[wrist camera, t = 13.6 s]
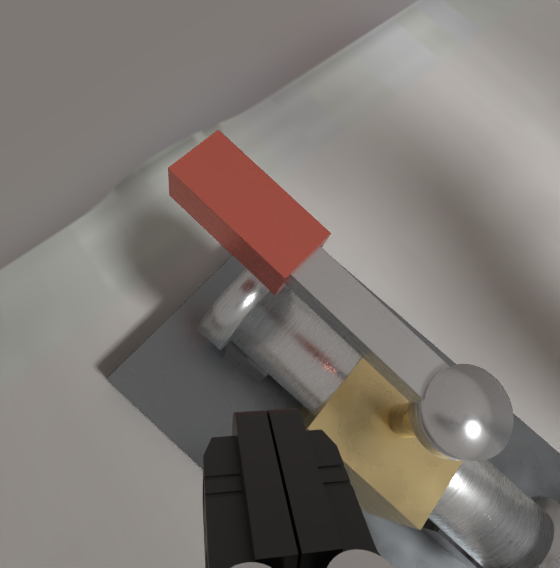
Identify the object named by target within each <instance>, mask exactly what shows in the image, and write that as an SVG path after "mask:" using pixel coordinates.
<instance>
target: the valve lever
mask: <svg viewBox="0 0 560 568" xmlns="http://www.w3.org/2000/svg"><path fill="white" fill-rule="evenodd" d="M168 176H169V194H170V196H171V197H172V198H173V199H174V200H175V201H176V202H177V203H178V204H179V205H180V206H181V207H182V208H183V209H185V210H186V211H187V212H188V213H189V214H190V215H191V216H192V217H193V218H194V219H195V220H196V221H197V222H198V223H199V224H200V225H201V226H202V227H203V228H204V229H206V230H207V231H208V232H209V233H210V234H211V235H212V236H213V237H214V238H215V239H216V240H217V241H218V242H219V243H220V244H221V245H222V246H223V247H224V248H225V249H227V250H228V251H229V252H230V253H231V254H232V255H233V256H234V257H235V258H236V259H237V260H238V261H239V262H240V263H241V264H242V265H243V266H244V267H245V268H246V269H248V270H249V271H250V272H251V273H252V274H253V275H254V276H255V277H256V278H257V279H258V280H259V281H260V282H261V283H262V284H263V285H264V286H265V287H266V288H267V289H269V290H270V291H271V292H272V293H273V294H274V295H276V294H277V293H278V292H279V291H280V290H281V289H282V288H283V287H284V286H285V285H286V286H288V287H289V288H290V289H291V290H292V291H293V292H294V293H295V294H296V295H297V296H298V297H299V298H300V299H301V300H302V301H303V302H304V303H305V304H307V305H308V306H309V307H310V308H311V309H312V310H313V311H314V312H315V313H316V314H317V315H318V316H319V317H320V318H321V319H322V320H323V321H325V322H326V323H327V324H328V325H329V326H330V327H331V328H332V329H333V330H334V331H335V332H336V333H337V334H338V335H339V336H340V337H341V338H342V339H344V340H345V341H346V342H347V343H348V344H349V345H350V346H351V347H352V348H353V349H354V350H355V351H356V352H357V353H358V354H359V355H360V356H361V357H363V358H364V359H365V360H366V361H367V362H368V363H369V364H370V365H371V366H372V367H373V368H374V369H375V370H376V371H377V372H378V373H379V374H381V375H382V376H383V377H384V378H385V379H386V380H387V381H388V382H389V383H390V384H391V385H392V386H393V387H394V388H395V389H396V390H397V391H398V392H400V393H401V394H402V395H403V396H404V397H405V398H406V399H407V400H408V401H409V406H408V413H409V420H410V424H411V427H412V430H413V432H414V434H415V436H416V437H417V439H418V440H419V442H420V443H421V444H422V445H423V446H424V447H425V448H426V449H427V450H428V451H429V452H431V453H432V454H434V455H435V456H438V457H440V458H443V459H446V460H458V461H483V460H487V459H490V458H492V457H494V456H496V455H497V454H499V453H500V452H501V451H502V450H503V449H504V448H505V446H506V445H507V443H508V441H509V439H510V437H511V434H512V430H513V410H512V406H511V402H510V399H509V397H508V395H507V393H506V391H505V389H504V388H503V386H502V385H501V384H500V382H499V381H498V380H497V379H496V378H495V377H494V376H493V375H491V374H490V373H489V372H487V371H486V370H484V369H482V368H480V367H477V366H474V365H469V364H457V365H453V366H449V365H448V364H447V363H445V362H444V361H443V360H442V359H441V358H440V357H439V356H438V355H437V354H436V353H435V352H434V351H433V350H431V349H430V348H429V347H428V346H427V345H426V344H425V343H424V342H423V341H422V340H421V339H420V338H418V337H417V336H416V335H415V334H414V333H413V332H412V331H411V330H410V329H409V328H408V327H407V326H406V325H404V324H403V323H402V322H401V321H400V320H399V319H398V318H397V317H396V316H395V315H394V314H393V313H392V312H390V311H389V310H388V309H387V308H386V307H385V306H384V305H383V304H382V303H381V302H380V301H379V300H378V299H376V298H375V297H374V296H373V295H372V294H371V293H370V292H369V291H368V290H367V289H366V288H365V287H363V286H362V285H361V284H360V283H359V282H358V281H357V280H356V279H355V278H354V277H353V276H352V275H351V274H349V273H348V272H347V271H346V270H345V269H344V268H343V267H342V266H341V265H340V264H339V263H338V262H337V261H335V260H334V259H333V258H332V257H331V256H330V255H329V254H328V253H327V252H326V251H325V250H324V249H323V248H322V246H323V245H324V243H325V242H326V240H327V239H328V237H329V236H330V234H331V233H330V232H329V231H328V230H327V229H326V228H325V227H323V226H322V225H321V224H320V223H319V222H318V221H317V220H316V219H315V218H314V217H313V216H312V215H310V214H309V213H308V212H307V211H306V210H305V209H304V208H303V207H302V206H301V205H300V204H298V203H297V202H296V201H295V200H294V199H293V198H292V197H291V196H290V195H289V194H288V193H287V192H285V191H284V190H283V189H282V188H281V187H280V186H279V185H278V184H277V183H276V182H275V181H274V180H272V179H271V178H270V177H269V176H268V175H267V174H266V173H265V172H264V171H263V170H262V169H260V168H259V167H258V166H257V165H256V164H255V163H254V162H253V161H252V160H251V159H250V158H249V157H247V156H246V155H245V154H244V153H243V152H242V151H241V150H240V149H239V148H238V147H237V146H236V145H234V144H233V143H232V142H231V141H230V140H229V139H228V138H227V137H226V136H225V135H224V134H222V133H221V132H220V131H219V130H217V131H216V132H215V133H214V134H212V135H211V136H210V137H208V138H207V139H206V140H204V141H203V142H202V143H200V144H199V145H198V146H196V147H195V148H194V149H192V150H191V151H190V152H188V153H187V154H186V155H184V156H183V157H182V158H181V159H179V160H178V161H177V162H175V163H174V164H173V165H171V166H170V167H169V168H168Z"/></svg>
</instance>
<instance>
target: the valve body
mask: <svg viewBox="0 0 560 568" xmlns="http://www.w3.org/2000/svg"><path fill="white" fill-rule="evenodd" d="M334 260H335V259H334ZM335 261H336V260H335ZM342 267H343V266H342ZM343 268H344V267H343ZM344 269H345V268H344ZM345 270H346V269H345ZM346 271H347V270H346ZM347 272H348V271H347ZM348 273H349V274H351V273H350V272H348ZM351 275H352V274H351ZM352 276H353V275H352ZM353 277H354V276H353ZM354 278H355V277H354ZM355 279H356V280H357V281H358V282H359V283H360V284H361V285H362V286H363V287H365V288H366V289H367V290H368V291H369V292H370V293H371V294H372V295H373V296H374V297H375V298H376V299H378V300H379V301H380V302H381V303H382V304H383V305H384V306H385V307H386V308H387V309H388V310H389V311H390V312H392V313H393V314H394V315H395V316H396V317H397V318H398V319H399V320H400V321H401V322H402V323H403V324H404V325H406V326H407V327H408V328H409V329H410V330H411V331H412V332H413V333H414V334H415V335H416V336H417V337H418V338H420V339H421V340H422V341H423V342H424V343H425V344H426V345H427V346H428V347H429V348H430V349H431V350H433V351H434V352H435V353H436V354H437V355H438V356H439V357H440V358H441V359H442V360H443V361H444V362H445V363H447V364H448V365H449V366H453V365H456V364H455V363H454V362H453V361H452V360H451V359H449V358H448V357H447V356H446V355H445V354H444V353H442V352H441V351H440V350H439V349H438V348H437V347H435V346H434V345H433V344H432V343H431V342H430V341H429V340H427V339H426V338H425V337H424V336H423V335H422V334H420V333H419V332H418V331H417V330H416V329H415V328H413V327H412V326H411V325H410V324H409V323H408V322H406V321H405V320H404V319H403V318H402V317H401V316H400V315H398V314H397V313H396V312H395V311H394V310H393V309H391V308H390V307H389V306H388V305H387V304H386V303H384V302H383V301H382V300H381V299H380V298H379V297H377V296H376V295H375V294H374V293H373V292H372V291H370V290H369V289H368V288H367V287H366V286H365V285H364V284H362V283H361V282H360V281H359V280H358V279H357V278H355ZM107 380H108V381H109V382H110V383H111V384H112V385H113V386H114V387H116V388H117V389H118V390H119V391H120V392H121V393H122V394H123V395H124V396H125V397H126V398H127V399H128V400H129V401H131V402H132V403H133V404H134V405H135V406H136V407H137V408H138V409H139V410H140V411H141V412H142V413H143V414H144V415H146V416H147V417H148V418H149V419H150V420H151V421H152V422H153V423H154V424H155V425H156V426H157V427H158V428H159V429H161V430H162V431H163V432H164V433H165V434H166V435H167V436H168V437H169V438H170V439H171V440H172V441H173V442H174V443H175V444H177V445H178V446H179V447H180V448H181V449H182V450H183V451H184V452H185V453H186V454H187V455H188V456H189V457H190V458H192V459H193V460H194V461H195V462H196V463H197V464H198V465H199V466H200V467H201V468H202V469H203V455H204V453H205V451H206V449H207V447H208V444H209V442H210V440H211V438H212V437H224V436H232V423H233V413H234V412H244V411H261V410H265V411H267V410H275V409H291V408H298V409H299V411H300V413H301V416H302V419H303V423H304V426H305V429H306V431H307V430H321V429H322V430H323V431H324V432H325V433H326V434H327V435H328V437H329V438H330V439H331V440H332V441H333V442H334V443H335V444H336V445H337V447H338V450H339V452H340V455H341V458H342V460H343V463H344V468H346V471H347V473H348V476H349V479H350V484H352V486H353V489H354V492H355V494H356V497H357V500H358V502H359V505H360V507H361V510H362V513H363V515H364V518H365V521H366V523H367V526H368V528H369V531H370V534H371V536H372V539H373V542H374V544H375V546H376V549H377V551H378V552H379V554H380V555H381V557H382V558H384V559H385V560H386V561H388V562H389V563H390V564H391V565H392V566H393V567H394V568H560V453H558V452H557V451H556V450H555V449H554V448H553V447H551V446H550V445H549V444H548V443H547V442H546V441H545V440H543V439H542V438H541V437H540V436H539V435H538V434H536V433H535V432H534V431H533V430H532V429H531V428H529V427H528V426H527V425H526V424H525V423H524V422H522V421H521V420H520V419H519V418H518V417H517V416H516V415H514V414H513V430H512V434H511V437H510V439H509V441H508V443H507V445H506V446H505V448H504V449H503V450H502V451H501V452H500V453H499V454H497V455H496V456H494V457H492V458H490V459H487V460H483V461H458V460H446V459H443V458H440V457H438V456H435V455H434V454H432V453H431V452H429V451H428V450H427V449H426V448H425V447H424V446H423V445H422V444H421V443H420V442H419V440H418V439H417V437H416V436H415V434H414V432H413V430H412V427H411V424H410V420H409V413H408V406H409V401H408V400H407V399H406V398H405V397H404V396H403V395H402V394H401V393H400V392H398V391H397V390H396V389H395V388H394V387H393V386H392V385H391V384H390V383H389V382H388V381H387V380H386V379H385V378H384V377H383V376H382V375H381V374H379V373H378V372H377V371H376V370H375V369H374V368H373V367H372V366H371V365H370V364H369V363H368V362H367V361H366V360H365V359H364V358H363V357H361V356H360V355H359V354H358V353H357V352H356V351H355V350H354V349H353V348H352V347H351V346H350V345H349V344H348V343H347V342H346V341H345V340H344V339H342V338H341V337H340V336H339V335H338V334H337V333H336V332H335V331H334V330H333V329H332V328H331V327H330V326H329V325H328V324H327V323H326V322H325V321H323V320H322V319H321V318H320V317H319V316H318V315H317V314H316V313H315V312H314V311H313V310H312V309H311V308H310V307H309V306H308V305H307V304H305V303H304V302H303V301H302V300H301V299H300V298H299V297H298V296H297V295H296V294H295V293H294V292H293V291H292V290H291V289H290V288H289V287H288V286H286V285H285V286H284V287H283V288H282V289H281V290H280V291H279V292H278V293H277V294H276V295H274V294H273V293H272V292H271V291H270V290H269V289H267V288H266V287H265V286H264V285H263V284H262V283H261V282H260V281H259V280H258V279H257V278H256V277H255V276H254V275H253V274H252V273H251V272H250V271H249V270H248V269H246V268H245V267H244V266H243V265H242V264H241V263H240V262H239V261H238V260H237V259H236V258H235V257H234V256H233V255H232V256H231V257H230V258H229V259H228V260H227V261H226V262H225V263H224V264H223V265H222V266H221V267H220V268H219V269H218V270H217V271H216V272H215V273H214V274H213V275H212V276H211V277H210V278H209V279H208V280H207V281H206V282H205V283H204V284H203V285H202V286H201V287H200V288H199V289H198V290H197V291H196V292H195V293H194V294H193V295H192V296H191V297H190V298H189V299H188V300H187V301H186V302H185V303H184V304H183V305H182V306H180V307H179V308H178V309H177V310H176V311H175V312H174V313H173V314H172V315H171V316H170V317H169V318H168V319H167V320H166V321H165V322H164V323H163V324H162V325H161V326H160V327H159V328H158V329H157V330H156V331H155V332H154V333H153V334H152V335H151V336H150V337H149V338H148V339H147V340H146V341H145V342H144V343H143V344H142V345H141V346H140V347H139V348H138V349H137V350H136V351H135V352H134V353H133V354H132V355H131V356H130V357H129V358H128V359H126V360H125V361H124V362H123V363H122V364H121V365H120V366H119V367H118V368H117V369H116V370H115V371H114V372H113V373H112V374H111V375H110V376H109V377H108V378H107Z"/></svg>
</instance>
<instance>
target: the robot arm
mask: <svg viewBox="0 0 560 568" xmlns="http://www.w3.org/2000/svg"><path fill="white" fill-rule="evenodd" d="M203 522H204V544H205V568H394V567H393V566H392V565H391V564H390V563H389V562H388V561H386V560H385V559H384V558H382V557H381V555H380V554H379V552H378V551H377V549H376V546H375V544H374V542H373V539H372V536H371V534H370V531H369V528H368V526H367V523H366V521H365V518H364V515H363V513H362V510H361V507H360V505H359V502H358V500H357V497H356V494H355V492H354V489H353V486H352V484H350V479H349V476H348V473H347V471H346V468H344V463H343V460H342V458H341V455H340V452H339V450H338V447H337V445H336V444H335V443H334V442H333V441H332V440H331V439H330V438H329V437H328V435H327V434H326V433H325V432H324V431H323V430H322V429H321V430H307V431H306V429H305V426H304V423H303V419H302V416H301V413H300V411H299V409H298V408H291V409H275V410H267V411H265V410H261V411H244V412H234V413H233V423H232V436H224V437H212V438H211V440H210V442H209V444H208V447H207V449H206V451H205V453H204V455H203Z"/></svg>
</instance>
